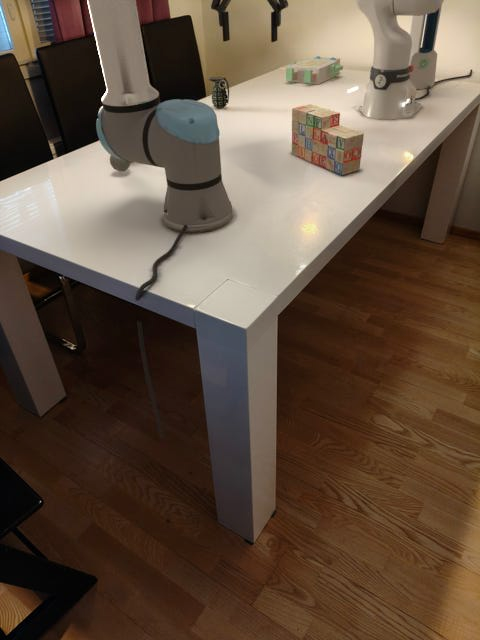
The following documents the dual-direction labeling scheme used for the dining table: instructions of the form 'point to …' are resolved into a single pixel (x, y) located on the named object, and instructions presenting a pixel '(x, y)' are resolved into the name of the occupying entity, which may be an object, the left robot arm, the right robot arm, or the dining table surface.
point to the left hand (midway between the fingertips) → (250, 41)
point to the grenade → (219, 92)
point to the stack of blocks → (325, 139)
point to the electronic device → (424, 50)
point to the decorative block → (313, 70)
